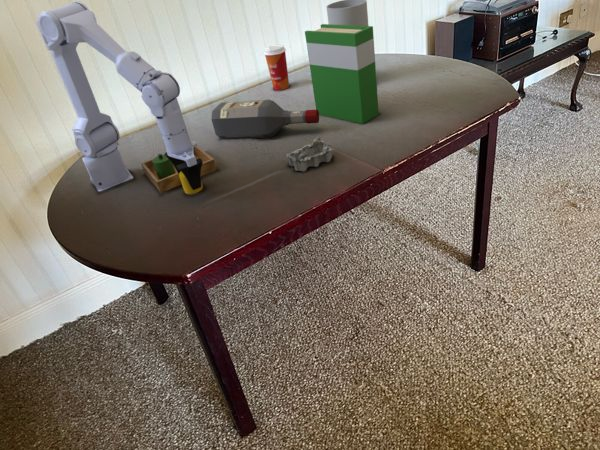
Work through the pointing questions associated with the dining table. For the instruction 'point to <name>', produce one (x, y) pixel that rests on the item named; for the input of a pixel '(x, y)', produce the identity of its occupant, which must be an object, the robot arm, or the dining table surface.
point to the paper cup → (277, 66)
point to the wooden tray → (175, 179)
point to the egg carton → (310, 155)
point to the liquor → (256, 118)
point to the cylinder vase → (348, 13)
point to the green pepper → (163, 166)
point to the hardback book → (343, 71)
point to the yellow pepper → (186, 185)
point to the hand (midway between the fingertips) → (191, 182)
